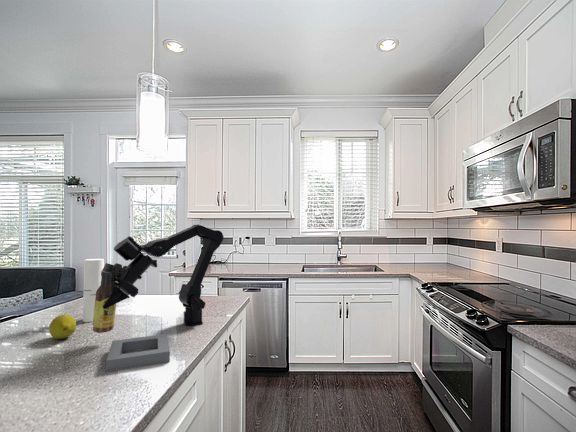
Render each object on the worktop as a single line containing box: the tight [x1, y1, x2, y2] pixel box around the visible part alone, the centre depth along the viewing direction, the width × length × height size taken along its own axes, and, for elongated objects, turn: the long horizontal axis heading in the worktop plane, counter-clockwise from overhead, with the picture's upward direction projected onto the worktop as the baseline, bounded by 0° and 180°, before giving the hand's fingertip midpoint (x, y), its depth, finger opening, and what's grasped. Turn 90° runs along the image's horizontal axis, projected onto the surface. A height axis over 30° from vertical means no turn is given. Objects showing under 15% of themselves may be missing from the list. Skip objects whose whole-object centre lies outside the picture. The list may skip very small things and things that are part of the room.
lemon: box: [48, 314, 77, 340], centre depth 110 cm, size 11×8×8 cm
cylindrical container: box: [82, 258, 105, 323], centre depth 132 cm, size 7×7×25 cm
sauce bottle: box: [92, 270, 117, 334], centre depth 105 cm, size 7×6×20 cm
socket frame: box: [105, 333, 171, 373], centre depth 95 cm, size 16×16×3 cm
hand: (100, 306), depth 104 cm, fingers closed on sauce bottle, 6 cm apart
